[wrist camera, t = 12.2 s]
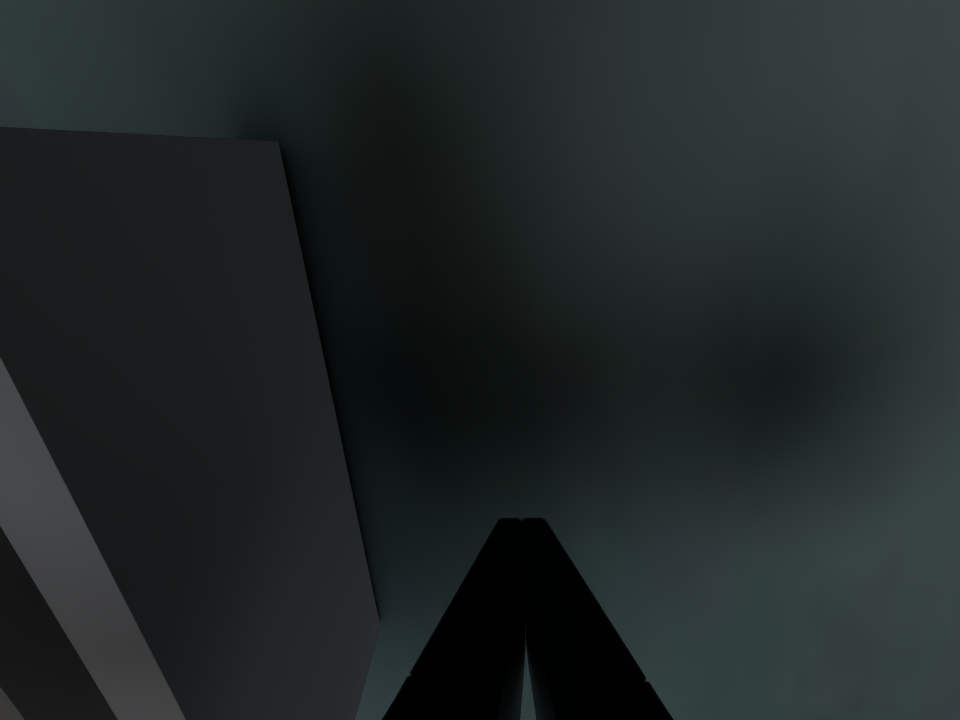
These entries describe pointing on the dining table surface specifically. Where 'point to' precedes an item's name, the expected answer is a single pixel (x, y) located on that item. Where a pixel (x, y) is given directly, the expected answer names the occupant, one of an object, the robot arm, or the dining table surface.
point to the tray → (176, 429)
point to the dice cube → (39, 655)
